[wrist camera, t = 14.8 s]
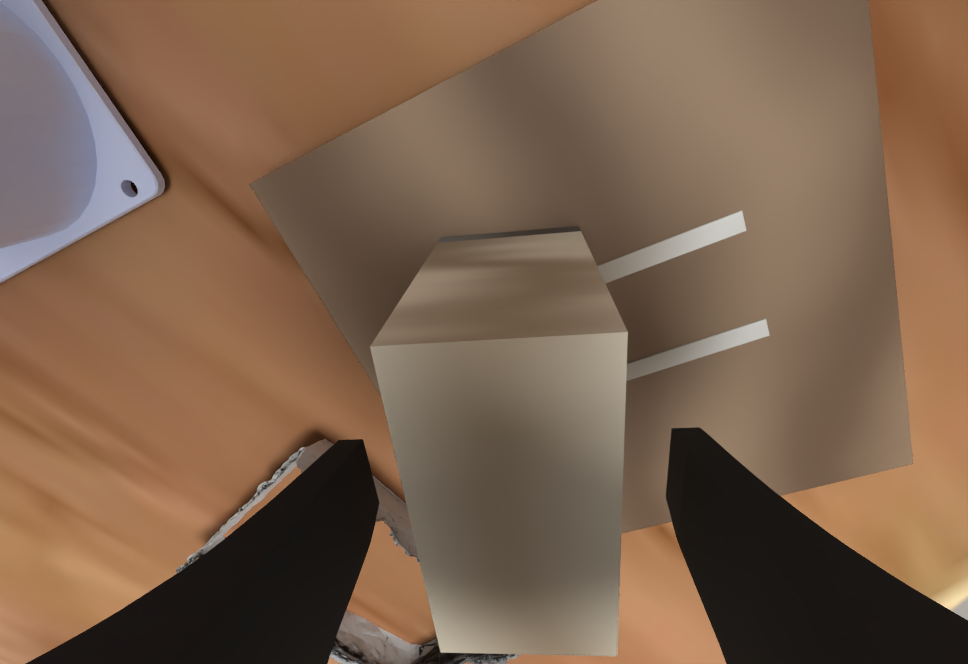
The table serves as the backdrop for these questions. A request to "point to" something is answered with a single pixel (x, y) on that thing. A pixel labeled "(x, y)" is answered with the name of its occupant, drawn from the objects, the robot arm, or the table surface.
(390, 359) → the block
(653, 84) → the walnut board
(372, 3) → the table surface
